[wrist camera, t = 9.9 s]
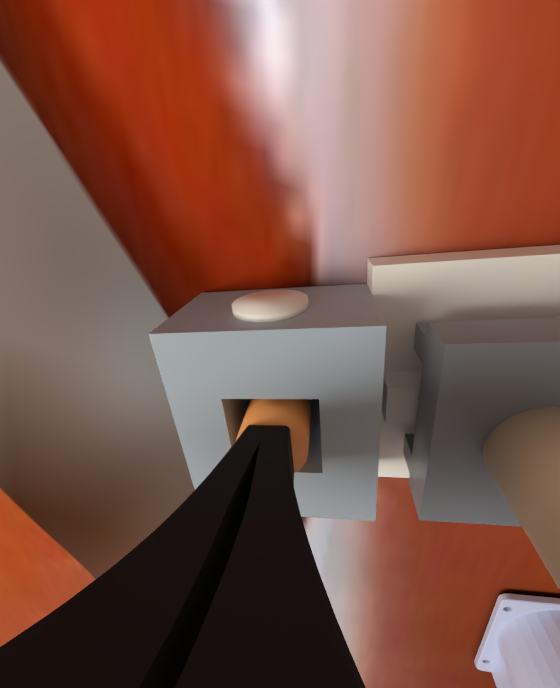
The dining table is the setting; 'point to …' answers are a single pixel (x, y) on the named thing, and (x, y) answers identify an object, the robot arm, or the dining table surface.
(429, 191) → the dining table surface
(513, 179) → the dining table surface
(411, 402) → the rail track
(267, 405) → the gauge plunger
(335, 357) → the grey block with socket
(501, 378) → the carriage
